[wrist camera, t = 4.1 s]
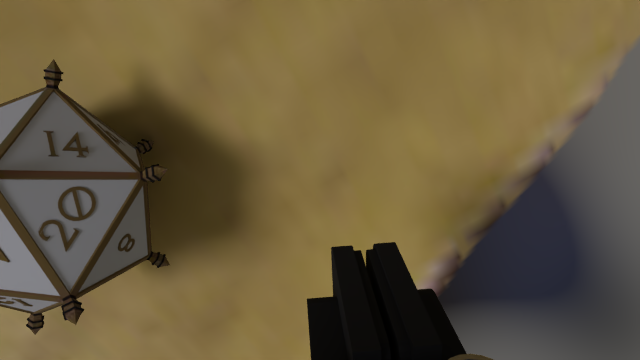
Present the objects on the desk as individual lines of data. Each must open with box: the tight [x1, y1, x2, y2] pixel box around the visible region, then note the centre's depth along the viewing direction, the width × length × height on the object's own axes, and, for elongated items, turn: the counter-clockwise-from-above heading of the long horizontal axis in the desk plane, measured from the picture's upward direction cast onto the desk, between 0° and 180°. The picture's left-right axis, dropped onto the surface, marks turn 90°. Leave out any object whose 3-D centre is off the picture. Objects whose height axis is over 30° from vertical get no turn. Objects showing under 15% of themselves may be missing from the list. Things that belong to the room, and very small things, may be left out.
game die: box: [0, 59, 170, 334], centre depth 16 cm, size 9×8×10 cm
